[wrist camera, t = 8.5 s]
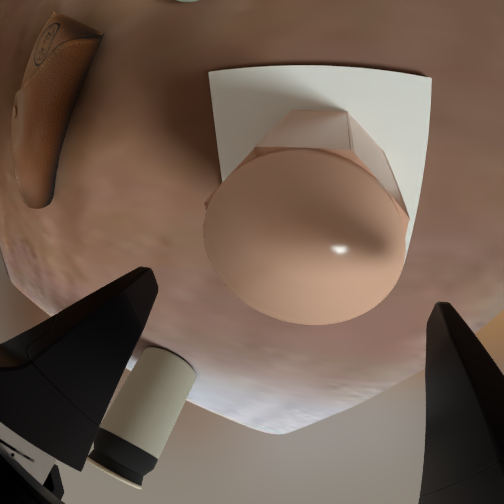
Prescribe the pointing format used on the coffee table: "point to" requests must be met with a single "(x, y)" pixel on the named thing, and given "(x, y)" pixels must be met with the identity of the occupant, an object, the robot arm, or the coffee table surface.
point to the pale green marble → (187, 0)
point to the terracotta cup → (309, 222)
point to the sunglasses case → (48, 104)
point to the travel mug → (142, 416)
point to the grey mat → (327, 99)
